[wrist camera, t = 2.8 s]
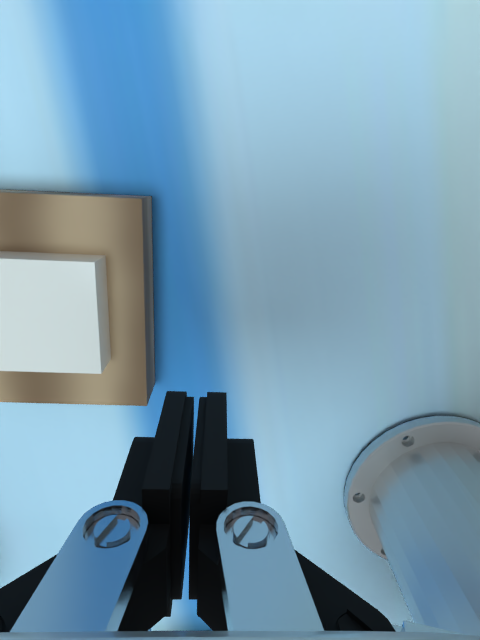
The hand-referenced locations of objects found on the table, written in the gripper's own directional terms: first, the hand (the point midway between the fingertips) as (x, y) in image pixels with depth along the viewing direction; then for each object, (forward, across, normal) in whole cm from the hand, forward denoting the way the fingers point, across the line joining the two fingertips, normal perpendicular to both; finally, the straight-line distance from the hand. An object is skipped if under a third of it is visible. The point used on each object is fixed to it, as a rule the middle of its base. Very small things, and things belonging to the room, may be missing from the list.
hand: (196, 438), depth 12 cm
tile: (+13, +10, 0) cm, 16 cm away
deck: (+16, +10, 0) cm, 18 cm away
